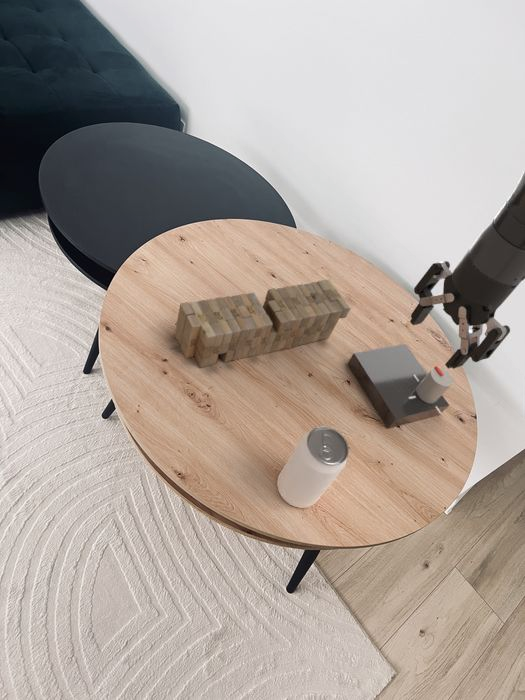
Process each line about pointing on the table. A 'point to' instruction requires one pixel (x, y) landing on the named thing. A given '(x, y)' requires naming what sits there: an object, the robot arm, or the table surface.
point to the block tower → (258, 322)
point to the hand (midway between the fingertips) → (432, 343)
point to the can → (312, 466)
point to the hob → (394, 384)
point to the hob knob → (434, 385)
